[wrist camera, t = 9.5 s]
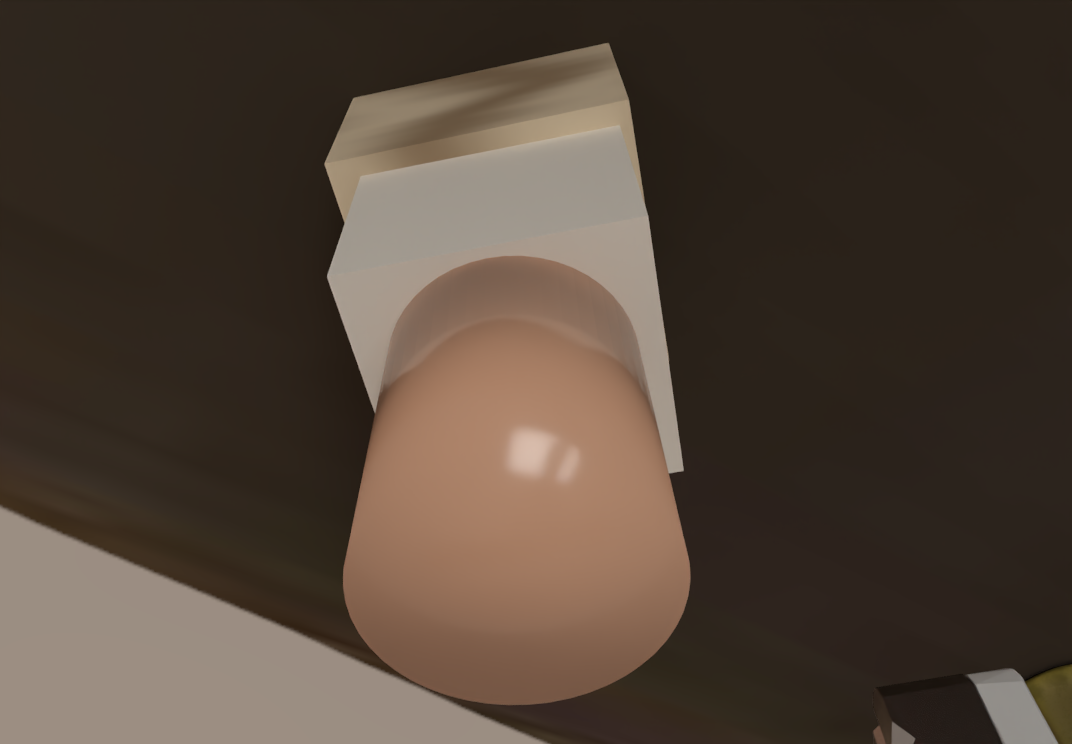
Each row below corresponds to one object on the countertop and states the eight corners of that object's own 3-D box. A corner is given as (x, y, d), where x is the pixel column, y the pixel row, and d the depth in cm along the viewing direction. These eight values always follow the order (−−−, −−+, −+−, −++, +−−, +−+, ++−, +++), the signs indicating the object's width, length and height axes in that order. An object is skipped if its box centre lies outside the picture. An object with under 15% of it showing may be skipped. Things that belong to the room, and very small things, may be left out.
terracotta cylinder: (620, 232, 17) (668, 421, 12) (655, 448, 20) (706, 677, 15) (354, 283, 18) (295, 487, 13) (423, 488, 20) (396, 725, 15)
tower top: (619, 124, 21) (648, 215, 17) (652, 348, 25) (683, 470, 20) (360, 176, 22) (326, 276, 18) (426, 389, 25) (411, 516, 21)
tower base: (608, 42, 25) (628, 99, 21) (645, 273, 29) (669, 361, 25) (353, 97, 26) (324, 164, 22) (422, 317, 30) (408, 409, 25)
